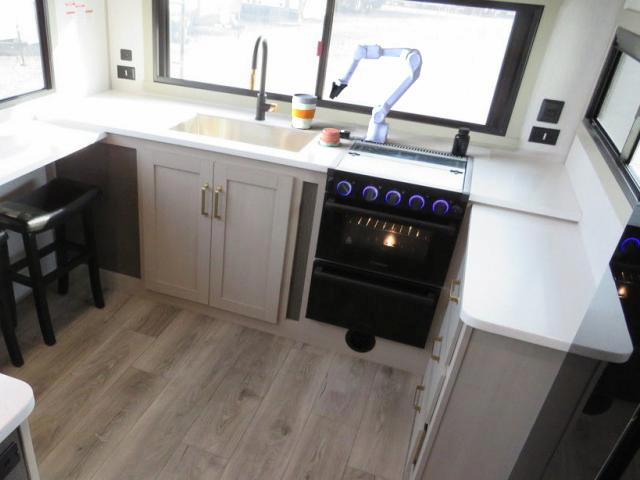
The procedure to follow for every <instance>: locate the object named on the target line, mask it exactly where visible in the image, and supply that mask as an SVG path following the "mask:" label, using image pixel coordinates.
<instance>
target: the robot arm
mask: <svg viewBox="0 0 640 480" xmlns="http://www.w3.org/2000/svg"><path fill="white" fill-rule="evenodd" d="M381 57H393V58H394V57H395V58H400V59H401V60H402V61H404V62H407V67H408V73H407V74H406V75H405V77H404V78H403V79H402V80H401V81H400V82H398V84H397V85H396V87H395V88H394V89H393V90H392V91H391V92H390V93H389V94H388V95H387V96H386V98H385V99H383V100H382V101H381V102H380V103H379V104H377V105H375V106H374V107H373V108H372V112H371V114H372V115H371V118H370V120H369V124H368V130H367V136H366V137H365V139H364V141H368V142H373V143H378V144H386V143H385V142H386V141H387V140H388V134H389V130H390V123H388V122H386V117H387V115H388V114H389V112H390V111H391V109H392V108H393V107H394V105H395V104H396V103H397V102H398V101H399V100H400V99H401V98H402V97H403V96H404V95H405V93H406V92H407V91H408V90H409V89H410V88H411V87H412V86H413V84H415V82H416V81H418V79H419V78H420V75H421V71H422V66H423V58H422V54H421V51H420V50H419V49H417V48H410V47H389V48H387V47H386V48H382V46H381V45H378V44H377V43H374V44H371V45H370V44H369V45H368V44H363V45H362V44H356V45H354V46H353V47H352V48H351V53H350V54H349V55H348V58H347V59H346V60H345V62H344V64H343V65H342V68H341V70H340V71H339V73H338V75H337V74H335V75H334V77H335V78H336V81H332V83H331V90H330V93H329V99H331V100H334V99H335V98H337V97H338V96H339V95H340V94H341V93H342V92H343V91H344V89H346V88H347V87H348V86H349V85H348V84H349V81H350V80H351V78H352V76H353V75H354V73H355V72H356V69H357V67H358V66H359V63H360V62H361V60H362V59H364V60H379V59H381Z"/></svg>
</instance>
